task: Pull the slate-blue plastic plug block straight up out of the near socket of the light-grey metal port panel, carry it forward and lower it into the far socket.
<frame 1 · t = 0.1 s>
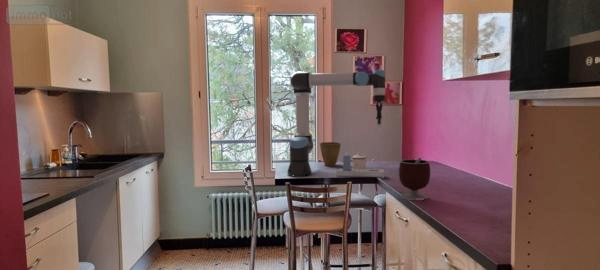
hand: (379, 128, 237), 28 cm above the breakfast bar, tool pointing down, fingers open, 13 cm apart
teacup with lid: (357, 170, 247), on the breakfast bar
plant pot: (330, 165, 270), on the breakfast bar
mate gourd: (414, 198, 174), on the breakfast bar
panel: (360, 176, 226), on the breakfast bar
plug: (347, 174, 227), point 1 cm above the breakfast bar, touching panel
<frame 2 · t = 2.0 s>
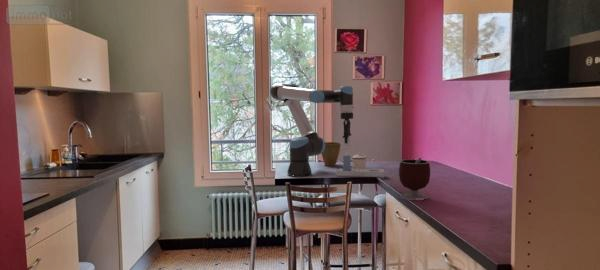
hand: (347, 147, 226), 18 cm above the breakfast bar, tool pointing down, fingers open, 13 cm apart
nothing on the breakfast bar moved.
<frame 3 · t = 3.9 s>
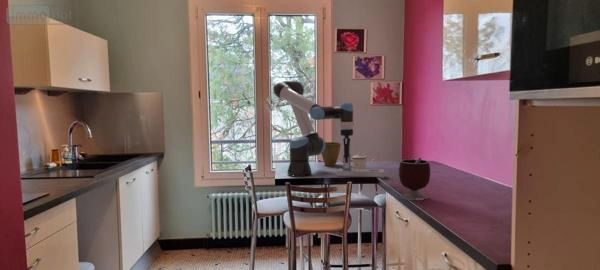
hand: (346, 167, 227), 6 cm above the breakfast bar, tool pointing down, fingers closed on plug, 4 cm apart
plug: (347, 174, 227), point 1 cm above the breakfast bar, touching gripper
everything else where it was.
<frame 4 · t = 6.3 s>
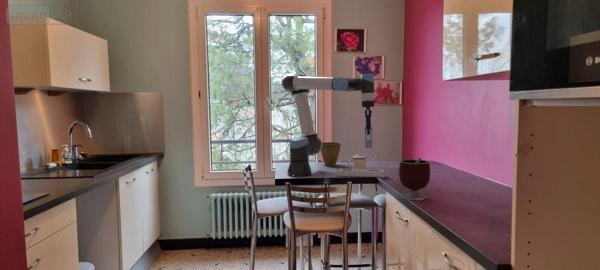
hand: (368, 139, 223), 22 cm above the breakfast bar, tool pointing down, fingers closed on plug, 4 cm apart
plug: (368, 147, 223), point 18 cm above the breakfast bar, touching gripper
everything else where it was.
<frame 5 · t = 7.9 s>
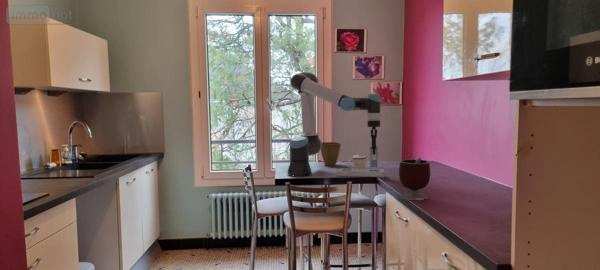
hand: (373, 159, 223), 11 cm above the breakfast bar, tool pointing down, fingers closed on plug, 4 cm apart
plug: (373, 166, 224), point 6 cm above the breakfast bar, touching gripper
everything else where it was.
when the fingers open (7 cm above the breakfast bar, at t = 8.9 s): plug drops 2 cm, resting on panel.
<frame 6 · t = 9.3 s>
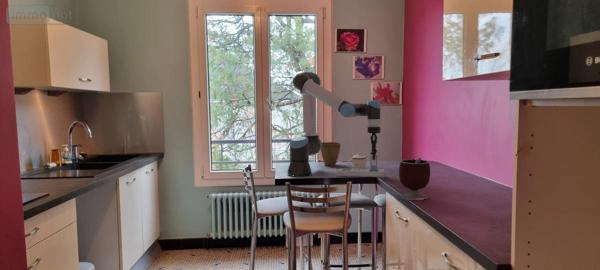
hand: (373, 163, 224), 8 cm above the breakfast bar, tool pointing down, fingers open, 9 cm apart
plug: (373, 175, 224), point 1 cm above the breakfast bar, touching panel
everything else where it was.
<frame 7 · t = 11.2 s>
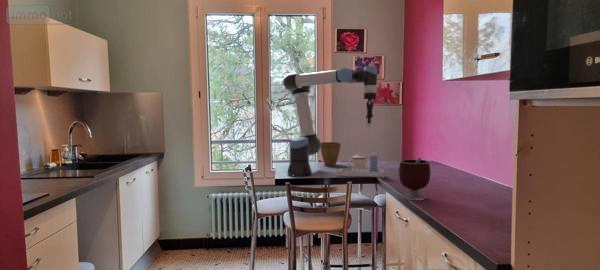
hand: (369, 128, 225), 29 cm above the breakfast bar, tool pointing down, fingers open, 13 cm apart
nothing on the breakfast bar moved.
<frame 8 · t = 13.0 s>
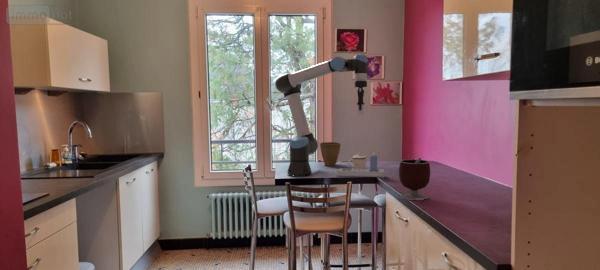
hand: (360, 115, 231), 37 cm above the breakfast bar, tool pointing down, fingers open, 13 cm apart
nothing on the breakfast bar moved.
at the end: plug 0.0 cm from the target spot on the panel, point 1.0 cm above the panel's base; plug tilted 0°; the gripper is holding nothing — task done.
